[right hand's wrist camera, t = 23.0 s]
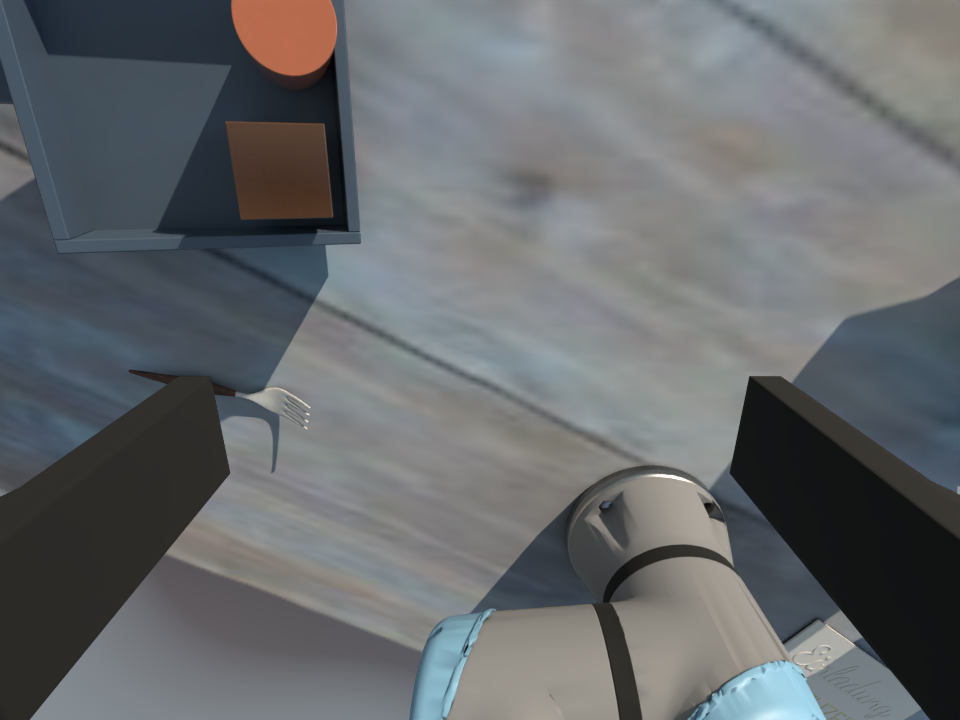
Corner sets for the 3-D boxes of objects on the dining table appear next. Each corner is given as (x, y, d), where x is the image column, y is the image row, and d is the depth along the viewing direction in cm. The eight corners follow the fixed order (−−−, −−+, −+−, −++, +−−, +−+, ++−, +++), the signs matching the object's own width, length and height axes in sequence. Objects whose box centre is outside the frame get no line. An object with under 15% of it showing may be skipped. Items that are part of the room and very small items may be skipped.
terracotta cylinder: (333, 94, 35) (340, 79, 27) (254, 89, 33) (238, 72, 26) (327, 7, 33) (333, -34, 25) (242, -2, 31) (223, -49, 24)
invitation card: (716, 696, 60) (819, 621, 55) (715, 693, 60) (818, 619, 56) (831, 765, 65) (934, 702, 60) (829, 763, 65) (932, 699, 60)
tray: (355, 233, 39) (369, 258, 30) (-206, 249, 30) (-420, 291, 21) (333, -67, 32) (343, -149, 23) (-409, -166, 23) (-856, -362, 14)
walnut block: (328, 204, 37) (333, 217, 30) (254, 205, 36) (240, 220, 28) (320, 128, 35) (324, 123, 28) (242, 127, 34) (224, 121, 26)
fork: (132, 354, 44) (117, 363, 42) (317, 395, 45) (310, 405, 44) (132, 381, 45) (117, 391, 43) (313, 420, 46) (306, 431, 45)
